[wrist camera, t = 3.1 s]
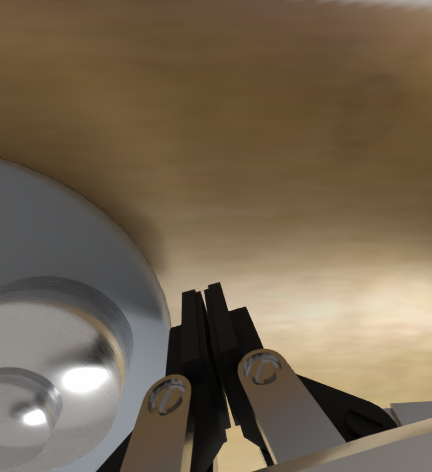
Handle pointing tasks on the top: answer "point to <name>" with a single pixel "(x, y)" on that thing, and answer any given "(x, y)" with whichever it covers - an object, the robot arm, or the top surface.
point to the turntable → (85, 278)
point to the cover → (58, 371)
